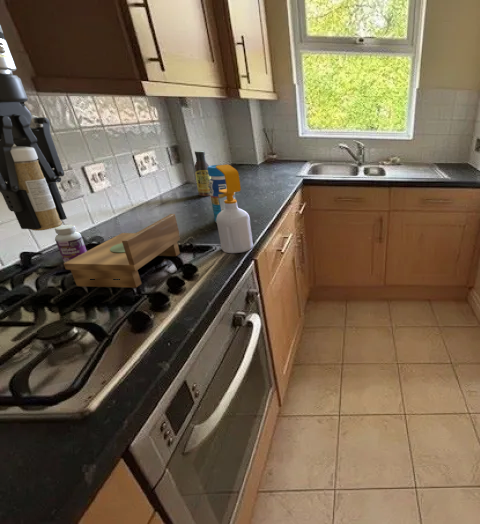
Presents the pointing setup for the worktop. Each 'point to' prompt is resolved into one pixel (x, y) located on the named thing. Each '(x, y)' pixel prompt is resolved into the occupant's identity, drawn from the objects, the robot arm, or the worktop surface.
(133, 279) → the shelf
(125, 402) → the worktop surface
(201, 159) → the sauce bottle
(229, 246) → the soap bottle
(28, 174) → the sprinkles bottle
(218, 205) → the blue canister
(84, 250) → the pill bottle
